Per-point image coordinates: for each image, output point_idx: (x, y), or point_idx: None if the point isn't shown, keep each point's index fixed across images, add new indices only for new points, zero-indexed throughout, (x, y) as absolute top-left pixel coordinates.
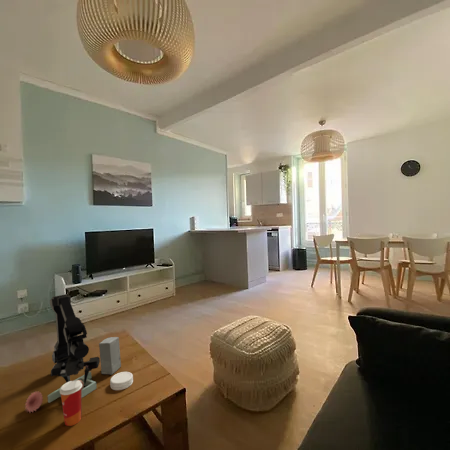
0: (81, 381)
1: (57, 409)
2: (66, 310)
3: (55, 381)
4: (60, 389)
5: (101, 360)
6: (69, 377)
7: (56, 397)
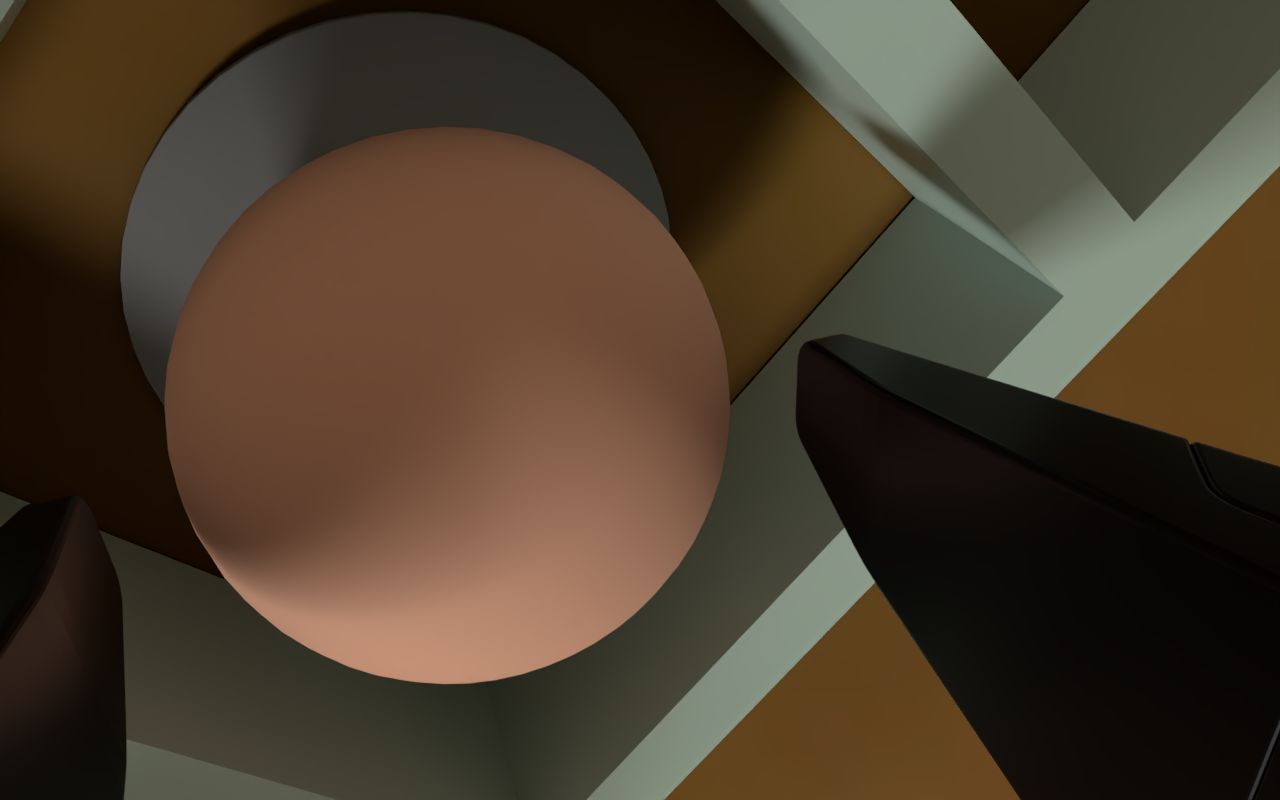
0: (274, 579)
1: None
2: None
3: None
4: (1100, 247)
5: None
6: (1010, 719)
7: (1077, 51)
